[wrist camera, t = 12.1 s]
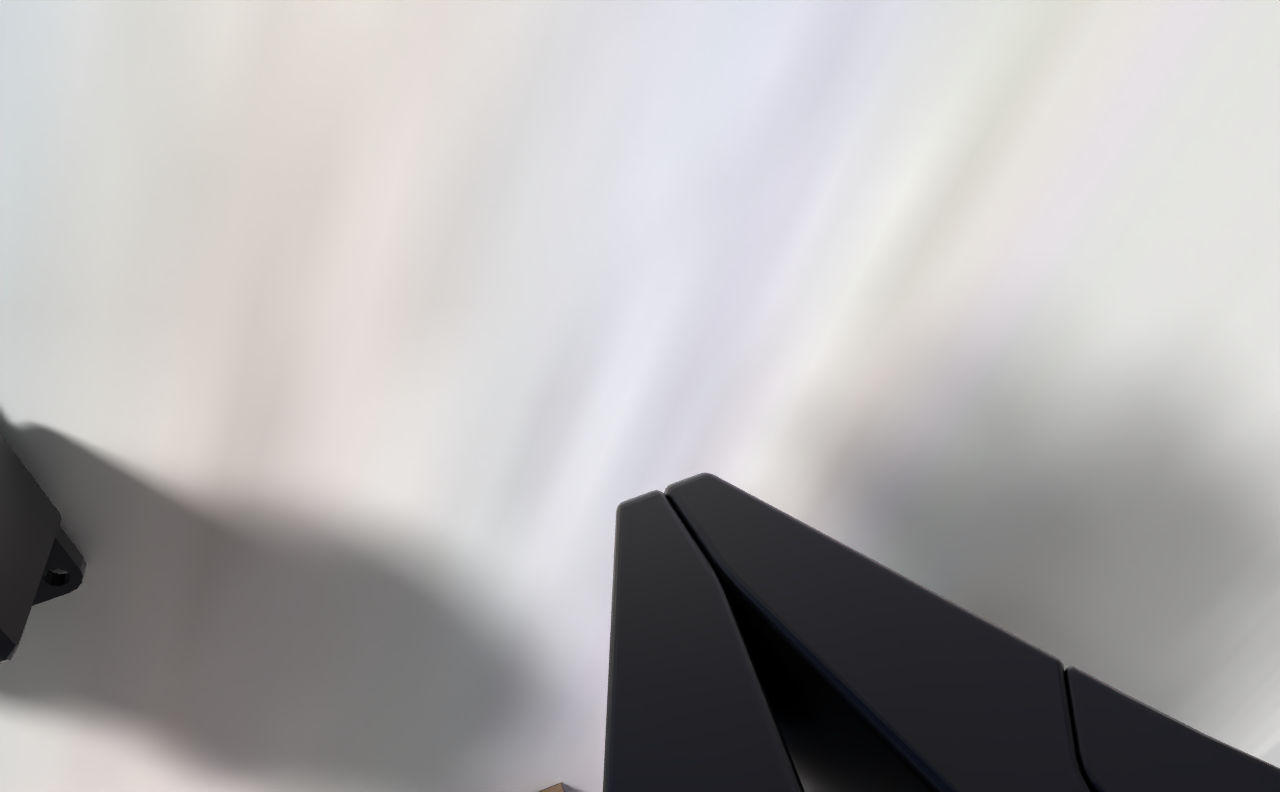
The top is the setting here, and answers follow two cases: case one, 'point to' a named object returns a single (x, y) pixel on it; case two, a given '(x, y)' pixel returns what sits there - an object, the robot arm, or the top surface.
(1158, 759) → the robot arm
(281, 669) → the top surface
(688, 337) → the top surface
